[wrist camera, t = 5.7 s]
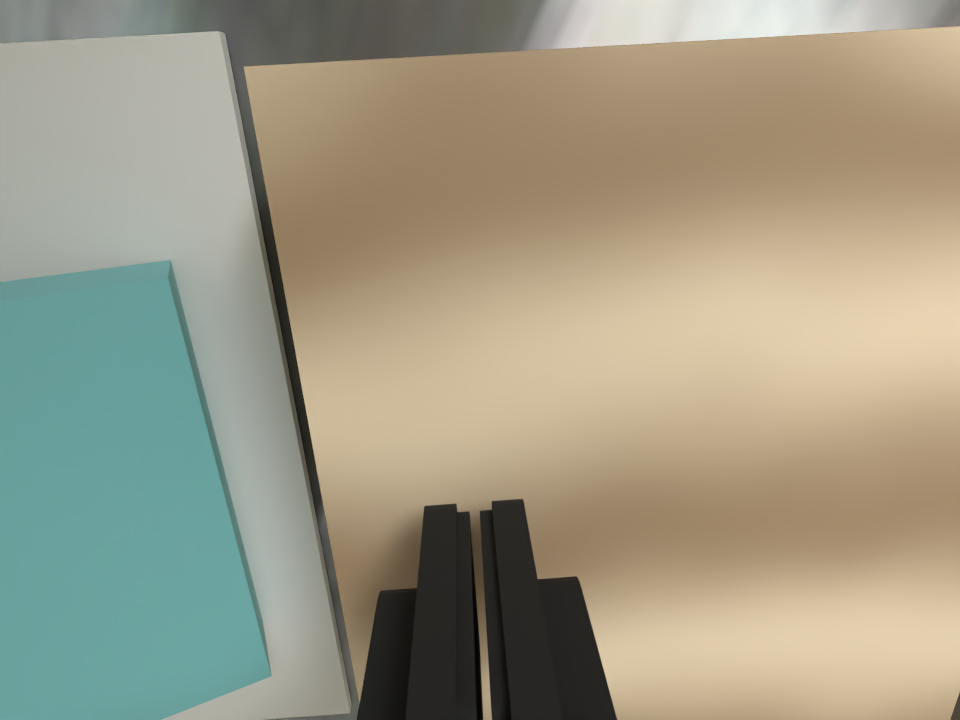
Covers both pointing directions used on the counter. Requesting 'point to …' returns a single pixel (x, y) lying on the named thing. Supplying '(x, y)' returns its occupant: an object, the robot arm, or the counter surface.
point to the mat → (181, 294)
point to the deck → (647, 348)
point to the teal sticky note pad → (114, 508)
